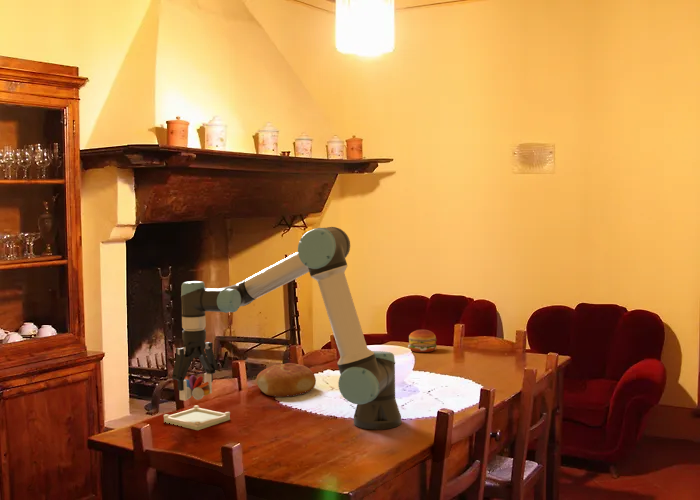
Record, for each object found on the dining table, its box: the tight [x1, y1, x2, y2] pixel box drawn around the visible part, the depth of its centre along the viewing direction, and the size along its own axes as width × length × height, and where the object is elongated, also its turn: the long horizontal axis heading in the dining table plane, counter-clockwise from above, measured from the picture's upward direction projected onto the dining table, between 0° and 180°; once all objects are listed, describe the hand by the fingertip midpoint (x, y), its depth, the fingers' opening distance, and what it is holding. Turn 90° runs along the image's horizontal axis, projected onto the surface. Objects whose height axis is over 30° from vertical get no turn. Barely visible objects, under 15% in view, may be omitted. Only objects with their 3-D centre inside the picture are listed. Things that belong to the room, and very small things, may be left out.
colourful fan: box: [184, 374, 211, 401], centre depth 254 cm, size 8×10×7 cm
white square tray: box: [163, 405, 231, 431], centre depth 254 cm, size 17×15×2 cm
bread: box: [256, 362, 317, 398], centre depth 292 cm, size 23×23×10 cm
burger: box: [407, 329, 438, 353], centre depth 363 cm, size 13×14×10 cm
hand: (196, 396), depth 254 cm, fingers closed on colourful fan, 10 cm apart
